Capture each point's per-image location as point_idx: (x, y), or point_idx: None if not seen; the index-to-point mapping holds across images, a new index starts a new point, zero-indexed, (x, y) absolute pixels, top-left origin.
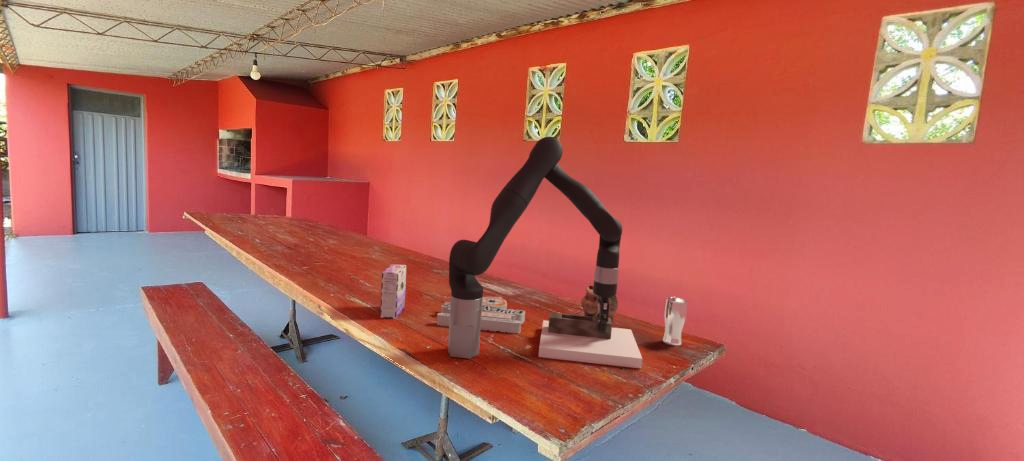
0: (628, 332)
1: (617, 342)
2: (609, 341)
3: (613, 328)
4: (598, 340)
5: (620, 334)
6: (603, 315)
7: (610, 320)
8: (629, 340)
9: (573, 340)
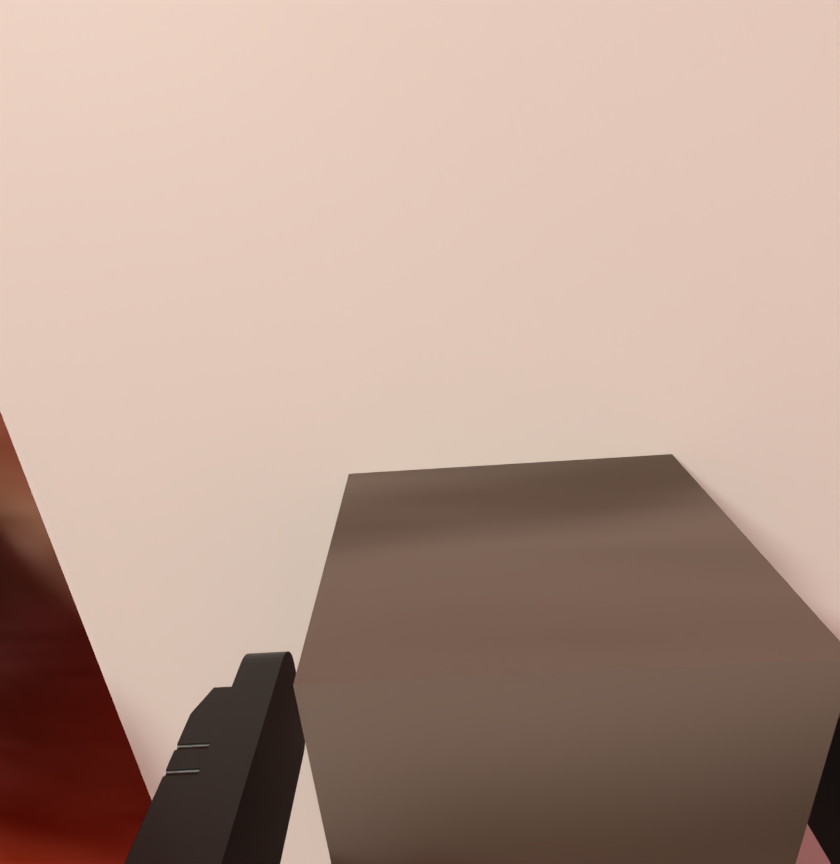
0: (112, 78)
1: (826, 342)
2: (791, 472)
3: (47, 397)
4: None
5: (339, 271)
6: (230, 861)
7: (509, 691)
8: (658, 80)
9: (819, 850)
